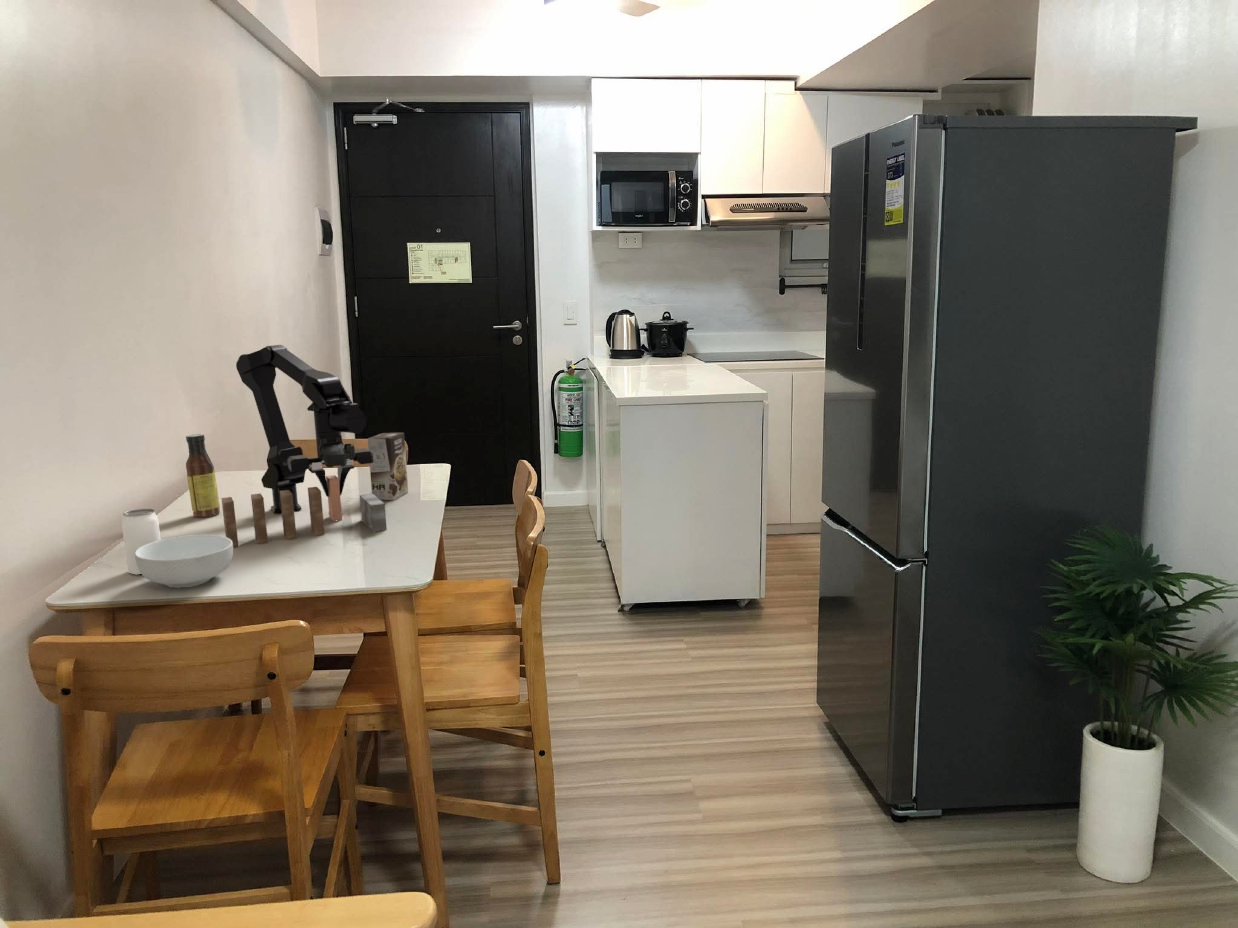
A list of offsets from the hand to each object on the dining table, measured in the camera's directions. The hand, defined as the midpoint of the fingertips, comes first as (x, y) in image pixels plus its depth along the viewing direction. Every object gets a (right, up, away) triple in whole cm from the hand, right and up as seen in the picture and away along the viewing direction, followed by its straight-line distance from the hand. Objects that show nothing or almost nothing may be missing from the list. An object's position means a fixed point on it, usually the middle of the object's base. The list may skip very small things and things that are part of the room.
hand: (333, 495), depth 227 cm
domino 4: (0, -8, -11) cm, 14 cm away
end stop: (+11, -7, -6) cm, 14 cm away
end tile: (0, -5, +1) cm, 6 cm away
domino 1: (-16, -10, -19) cm, 27 cm away
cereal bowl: (-15, -15, -44) cm, 48 cm away
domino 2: (-11, -9, -16) cm, 22 cm away
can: (-26, -14, -36) cm, 47 cm away
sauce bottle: (-33, -5, +8) cm, 35 cm away
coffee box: (+8, -1, +23) cm, 24 cm away
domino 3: (-6, -9, -14) cm, 17 cm away
